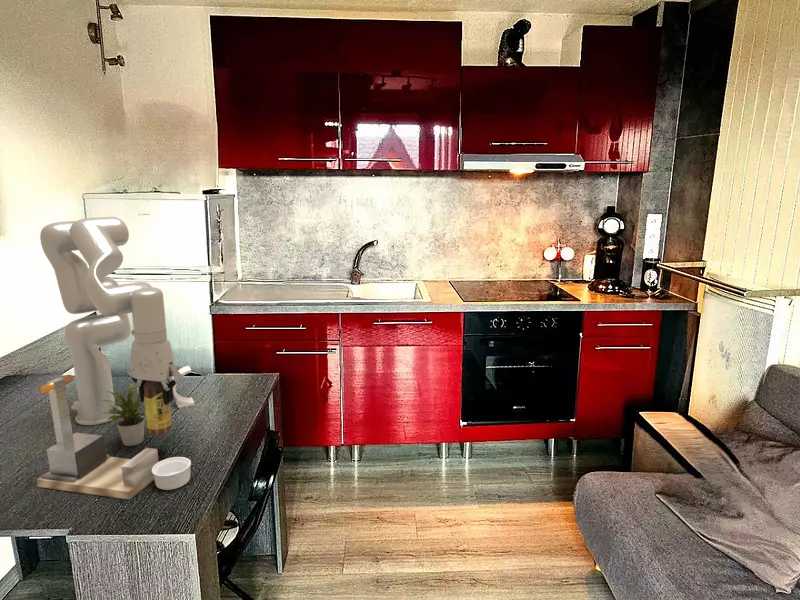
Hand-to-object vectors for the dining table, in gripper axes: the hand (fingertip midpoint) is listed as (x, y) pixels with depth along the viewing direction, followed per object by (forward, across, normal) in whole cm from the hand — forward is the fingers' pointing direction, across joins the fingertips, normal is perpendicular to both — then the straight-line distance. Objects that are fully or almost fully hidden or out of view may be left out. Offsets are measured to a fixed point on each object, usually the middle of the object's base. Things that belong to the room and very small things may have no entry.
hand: (157, 400), depth 144 cm
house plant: (+16, -13, +4) cm, 21 cm away
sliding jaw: (+13, -13, -14) cm, 23 cm away
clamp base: (+15, -6, -15) cm, 22 cm away
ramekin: (+15, +12, -12) cm, 22 cm away
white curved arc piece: (+16, -13, +30) cm, 36 cm away
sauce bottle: (+9, 0, 0) cm, 9 cm away
